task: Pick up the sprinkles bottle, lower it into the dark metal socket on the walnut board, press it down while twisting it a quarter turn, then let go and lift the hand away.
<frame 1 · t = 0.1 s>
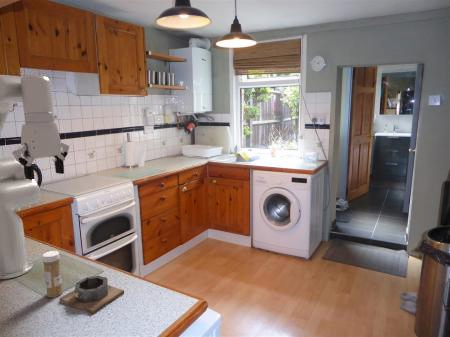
hand: (45, 176, 100), 37 cm above the counter, tool pointing down, fingers open, 9 cm apart
socket: (92, 288, 100), on the walnut board, point 3 cm above the counter
walnut board: (92, 297, 101), on the counter
sprinkles bottle: (54, 294, 103), on the counter
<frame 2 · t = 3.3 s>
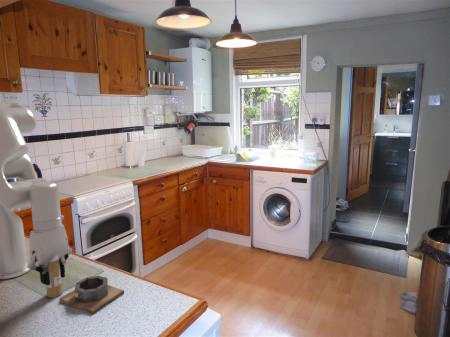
hand: (53, 279, 102), 5 cm above the counter, tool pointing down, fingers closed on sprinkles bottle, 4 cm apart
sprinkles bottle: (55, 294, 103), on the counter, touching gripper
when the fingers open (6 cm above the counter, at t = 10.0 s): sprinkles bottle stays where it is, resting on walnut board.
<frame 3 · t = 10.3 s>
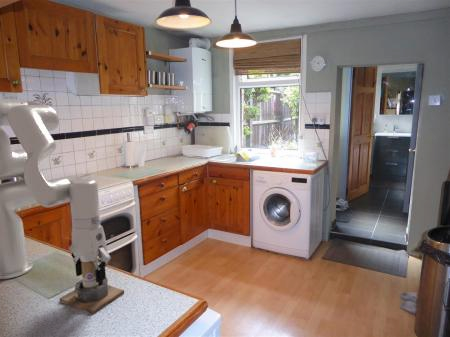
hand: (91, 276, 100), 7 cm above the counter, tool pointing down, fingers open, 7 cm apart
sprinkles bottle: (91, 294, 101), point 1 cm above the counter, touching walnut board
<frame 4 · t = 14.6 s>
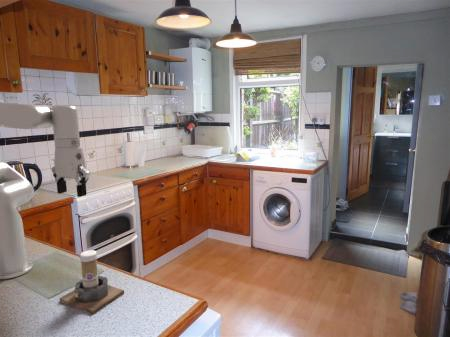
hand: (72, 194, 111), 28 cm above the counter, tool pointing down, fingers open, 9 cm apart
nothing on the counter moved.
at the end: sprinkles bottle 0.2 cm off-centre on the socket, point 0.8 cm above the socket's base; sprinkles bottle tilted 0°; the gripper is holding nothing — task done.
